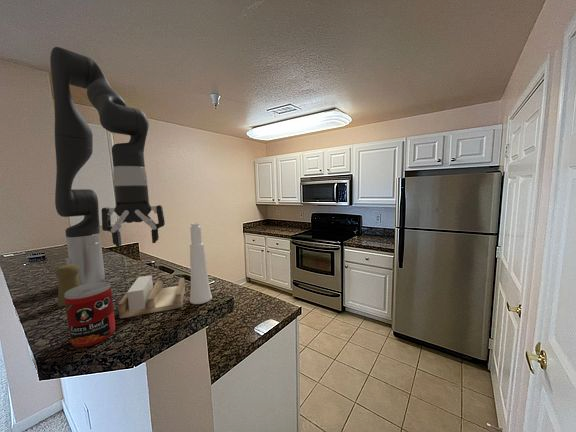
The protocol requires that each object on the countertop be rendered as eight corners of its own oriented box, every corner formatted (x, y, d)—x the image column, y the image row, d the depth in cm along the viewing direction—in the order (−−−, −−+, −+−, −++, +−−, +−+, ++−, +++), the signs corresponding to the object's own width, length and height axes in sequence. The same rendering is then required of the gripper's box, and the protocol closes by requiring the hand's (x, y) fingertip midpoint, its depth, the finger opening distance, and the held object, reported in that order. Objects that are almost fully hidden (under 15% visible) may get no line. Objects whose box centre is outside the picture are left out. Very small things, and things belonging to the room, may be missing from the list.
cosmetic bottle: (201, 293, 74) (196, 221, 72) (216, 297, 71) (211, 222, 69) (185, 302, 69) (178, 224, 67) (200, 306, 66) (193, 225, 64)
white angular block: (129, 311, 62) (127, 292, 61) (140, 293, 73) (138, 277, 73) (145, 308, 63) (143, 289, 63) (153, 291, 74) (151, 275, 74)
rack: (119, 318, 61) (118, 304, 60) (133, 296, 74) (132, 284, 74) (182, 307, 66) (180, 294, 65) (185, 288, 79) (184, 277, 78)
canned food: (64, 352, 48) (56, 299, 47) (79, 331, 55) (73, 285, 54) (110, 341, 51) (104, 291, 50) (119, 323, 58) (114, 279, 57)
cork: (83, 295, 76) (79, 260, 75) (86, 301, 72) (81, 264, 71) (57, 302, 72) (52, 265, 71) (58, 308, 68) (52, 269, 67)
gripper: (162, 184, 71) (167, 239, 73) (104, 185, 66) (110, 244, 68) (158, 183, 64) (163, 244, 66) (93, 184, 59) (100, 250, 61)
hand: (136, 244), depth 67 cm, fingers open, 8 cm apart
